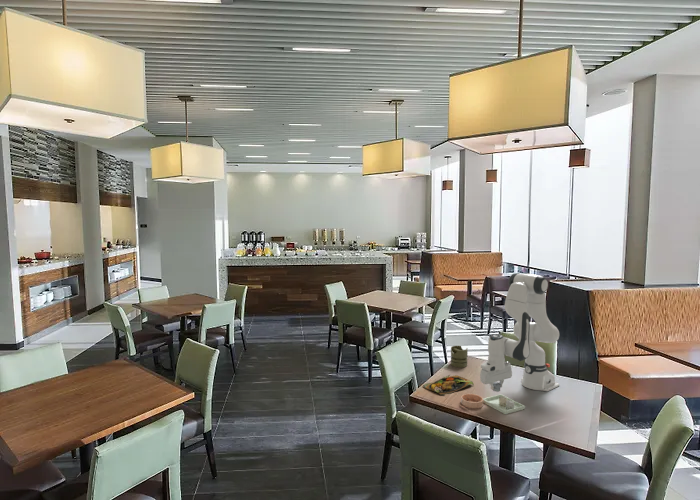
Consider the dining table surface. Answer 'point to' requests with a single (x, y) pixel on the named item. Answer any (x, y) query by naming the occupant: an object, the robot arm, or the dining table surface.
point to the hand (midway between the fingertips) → (496, 388)
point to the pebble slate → (496, 386)
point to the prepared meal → (448, 384)
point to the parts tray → (494, 403)
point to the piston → (459, 356)
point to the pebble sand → (502, 401)
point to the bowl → (472, 401)
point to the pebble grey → (509, 404)
